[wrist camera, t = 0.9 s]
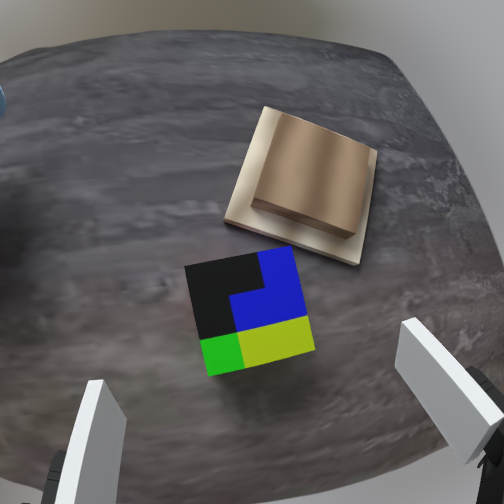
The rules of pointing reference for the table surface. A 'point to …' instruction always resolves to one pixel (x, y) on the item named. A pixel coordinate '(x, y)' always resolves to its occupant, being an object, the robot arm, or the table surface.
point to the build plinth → (284, 225)
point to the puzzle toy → (249, 310)
